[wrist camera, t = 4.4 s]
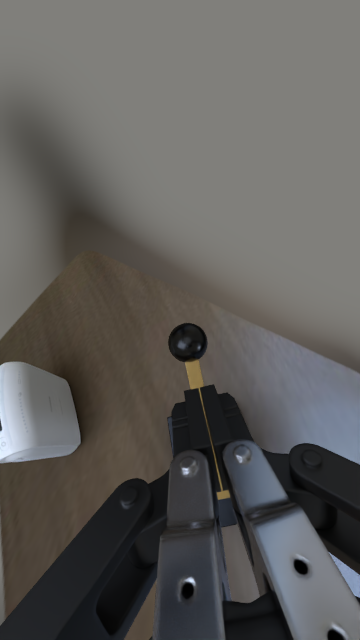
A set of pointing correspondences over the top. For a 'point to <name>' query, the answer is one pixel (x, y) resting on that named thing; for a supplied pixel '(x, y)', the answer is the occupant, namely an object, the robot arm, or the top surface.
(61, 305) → the top surface
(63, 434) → the photo printer
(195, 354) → the lever
